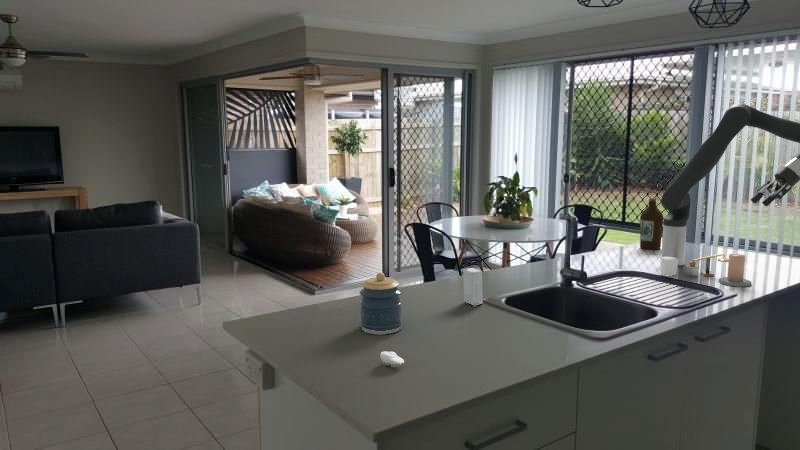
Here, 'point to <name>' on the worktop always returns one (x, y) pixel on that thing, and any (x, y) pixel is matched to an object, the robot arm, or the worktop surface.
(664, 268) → the shot glass
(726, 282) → the dish
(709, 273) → the balance
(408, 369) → the worktop surface
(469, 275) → the skincare box
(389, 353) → the dumpling
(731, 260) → the wooden block
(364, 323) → the canister
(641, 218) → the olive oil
